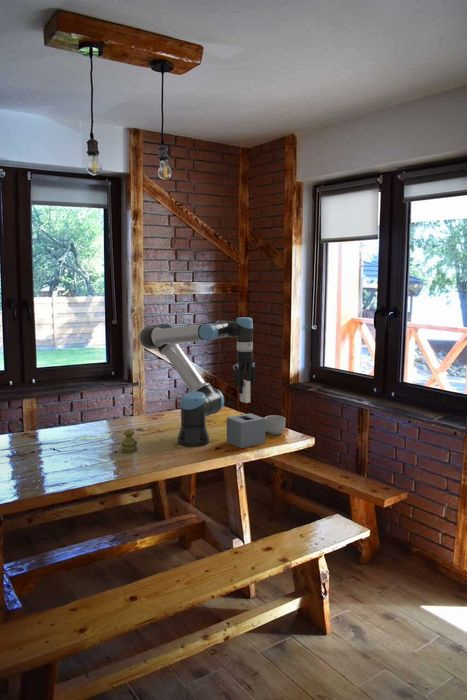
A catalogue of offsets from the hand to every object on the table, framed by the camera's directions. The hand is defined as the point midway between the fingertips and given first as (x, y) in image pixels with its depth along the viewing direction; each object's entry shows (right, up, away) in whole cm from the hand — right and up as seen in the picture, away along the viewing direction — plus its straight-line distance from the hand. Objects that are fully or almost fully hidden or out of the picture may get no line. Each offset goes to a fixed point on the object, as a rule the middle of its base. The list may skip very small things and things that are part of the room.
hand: (245, 399), depth 275 cm
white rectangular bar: (0, -1, 0) cm, 1 cm away
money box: (0, -21, +2) cm, 21 cm away
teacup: (+14, -19, +17) cm, 29 cm away
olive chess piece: (-53, -23, -11) cm, 59 cm away
